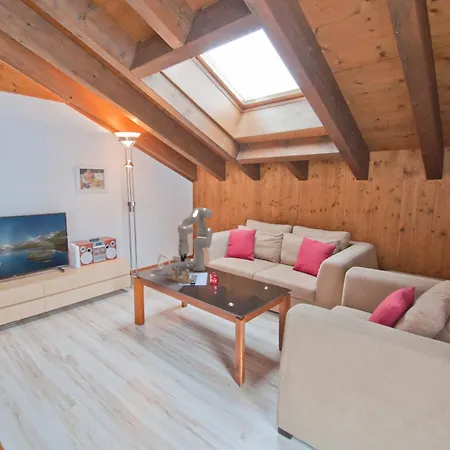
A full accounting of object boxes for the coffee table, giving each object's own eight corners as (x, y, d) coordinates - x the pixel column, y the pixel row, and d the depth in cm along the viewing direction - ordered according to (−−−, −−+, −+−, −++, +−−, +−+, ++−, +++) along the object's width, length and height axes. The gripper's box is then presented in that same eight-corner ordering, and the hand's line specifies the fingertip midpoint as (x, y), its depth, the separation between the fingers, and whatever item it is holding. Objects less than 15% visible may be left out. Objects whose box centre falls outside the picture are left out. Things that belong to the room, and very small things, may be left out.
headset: (173, 274, 308) (172, 255, 305) (166, 275, 303) (166, 257, 300) (162, 269, 323) (161, 252, 320) (155, 271, 318) (155, 253, 315)
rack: (172, 276, 300) (171, 264, 298) (195, 280, 290) (194, 267, 288) (165, 280, 291) (165, 267, 289) (189, 283, 281) (188, 270, 279)
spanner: (171, 260, 291) (171, 257, 291) (175, 259, 296) (175, 256, 295) (192, 263, 281) (192, 260, 280) (195, 262, 286) (195, 259, 285)
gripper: (181, 242, 277) (181, 263, 279) (192, 239, 291) (192, 259, 293) (174, 242, 280) (174, 262, 283) (185, 238, 294) (185, 258, 297)
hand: (183, 261), depth 288 cm, fingers closed on spanner, 3 cm apart
